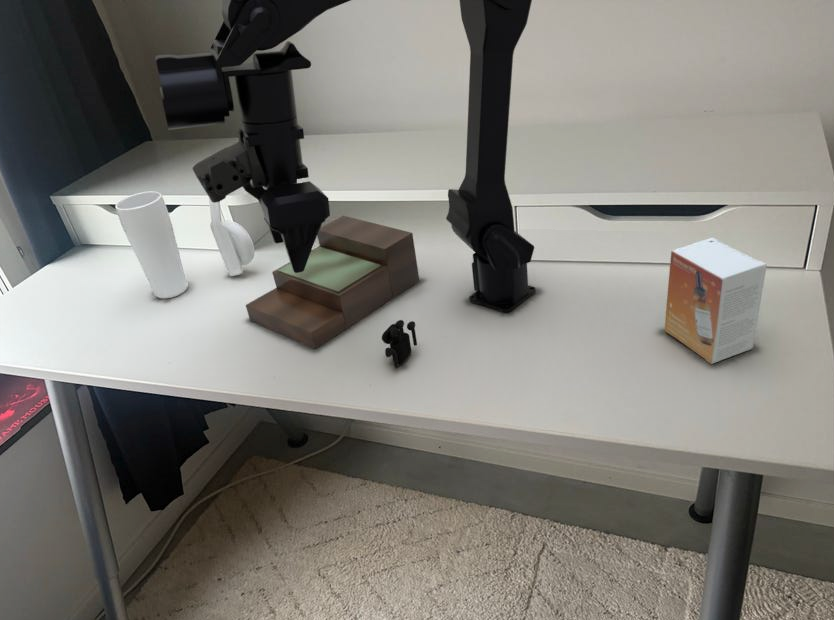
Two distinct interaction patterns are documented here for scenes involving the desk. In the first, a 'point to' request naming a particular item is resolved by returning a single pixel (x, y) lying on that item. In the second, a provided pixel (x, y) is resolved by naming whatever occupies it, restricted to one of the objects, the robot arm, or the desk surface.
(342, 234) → the step shelf
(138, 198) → the drinking glass
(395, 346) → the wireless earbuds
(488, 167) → the robot arm
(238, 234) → the headset
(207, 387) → the desk surface
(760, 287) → the small box
